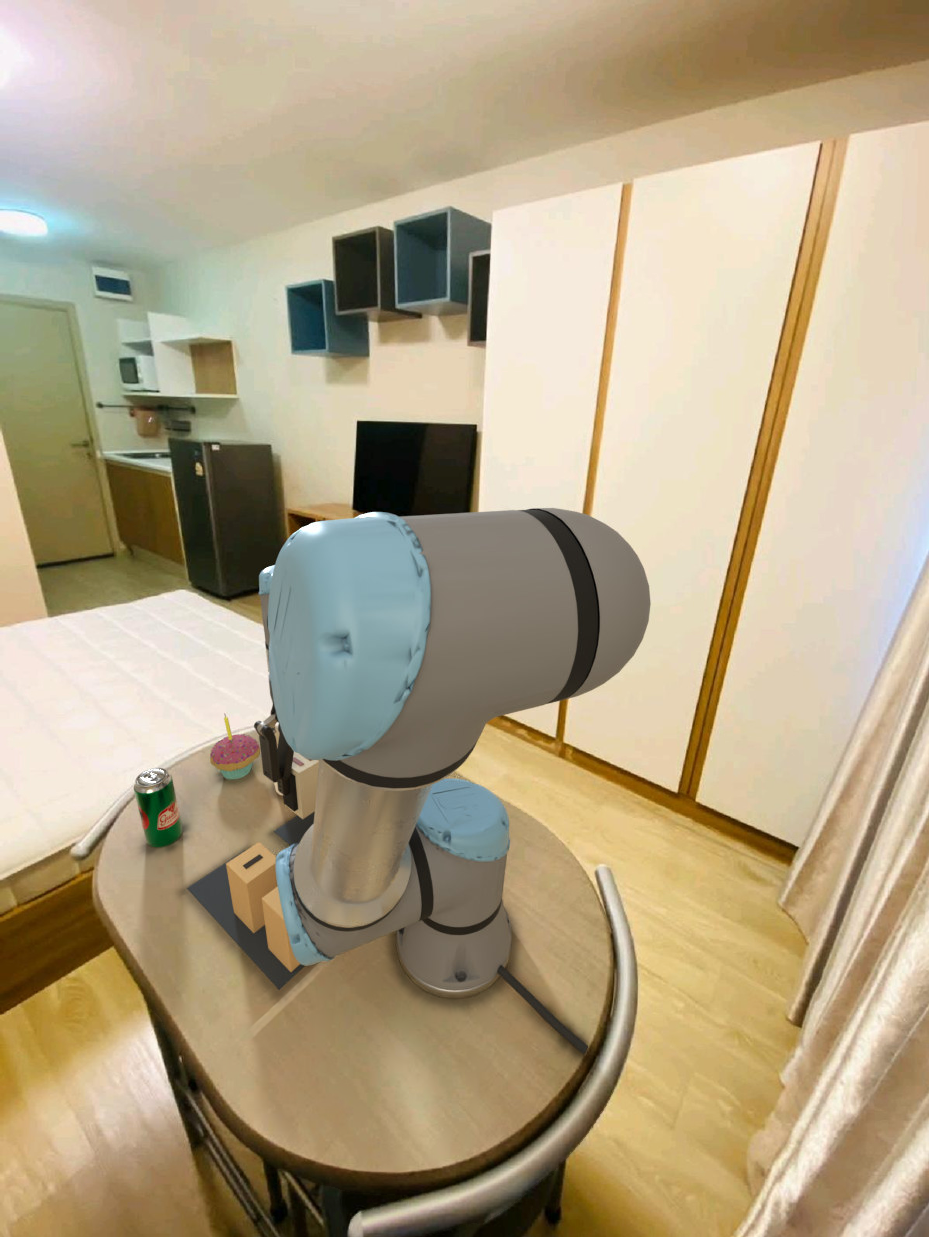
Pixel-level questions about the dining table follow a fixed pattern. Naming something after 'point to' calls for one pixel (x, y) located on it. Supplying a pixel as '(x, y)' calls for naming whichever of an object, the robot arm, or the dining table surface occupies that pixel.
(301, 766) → the cream block
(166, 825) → the soda can
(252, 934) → the left word board
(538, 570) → the robot arm
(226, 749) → the cupcake
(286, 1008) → the dining table surface
